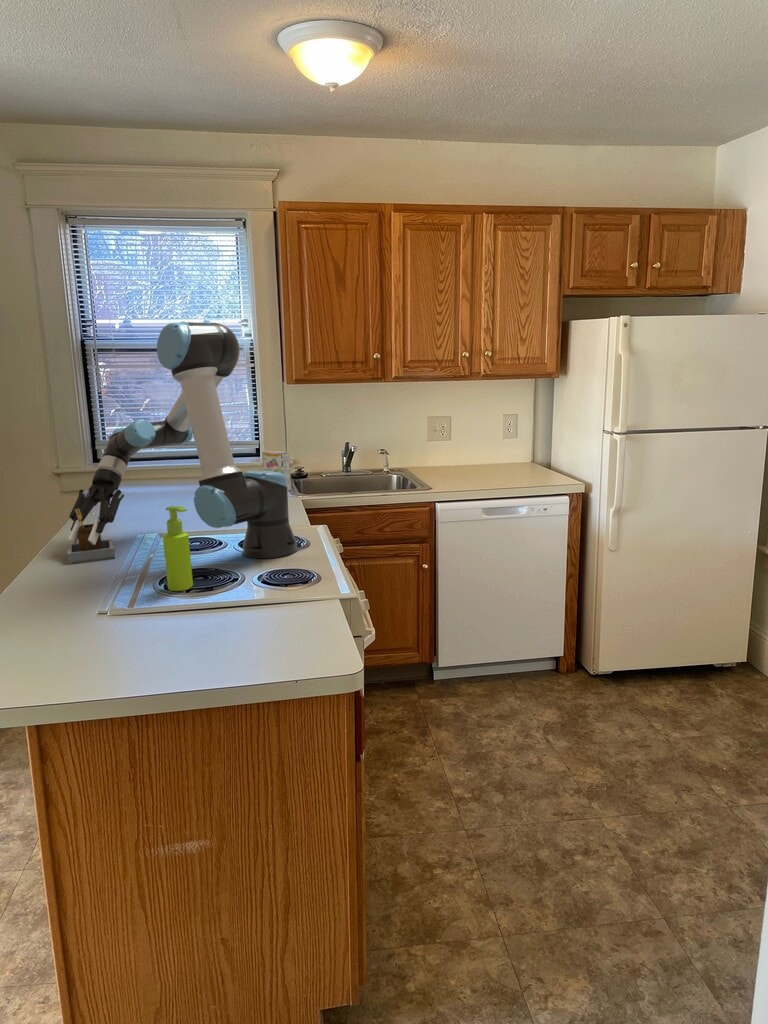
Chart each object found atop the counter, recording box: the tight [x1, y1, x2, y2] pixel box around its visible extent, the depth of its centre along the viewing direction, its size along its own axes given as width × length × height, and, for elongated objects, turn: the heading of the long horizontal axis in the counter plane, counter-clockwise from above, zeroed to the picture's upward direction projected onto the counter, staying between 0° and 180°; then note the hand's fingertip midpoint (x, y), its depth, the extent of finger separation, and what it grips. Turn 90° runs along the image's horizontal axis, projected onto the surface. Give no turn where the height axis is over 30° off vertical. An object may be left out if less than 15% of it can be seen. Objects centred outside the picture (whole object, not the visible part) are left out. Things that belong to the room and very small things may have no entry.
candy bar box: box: [261, 450, 292, 492], centre depth 295 cm, size 11×5×16 cm, turn 58°
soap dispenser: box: [162, 505, 194, 592], centre depth 169 cm, size 6×7×20 cm
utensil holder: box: [75, 508, 102, 551], centre depth 201 cm, size 6×6×12 cm
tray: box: [66, 538, 116, 565], centre depth 202 cm, size 12×12×3 cm
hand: (81, 542), depth 198 cm, fingers closed on utensil holder, 5 cm apart
